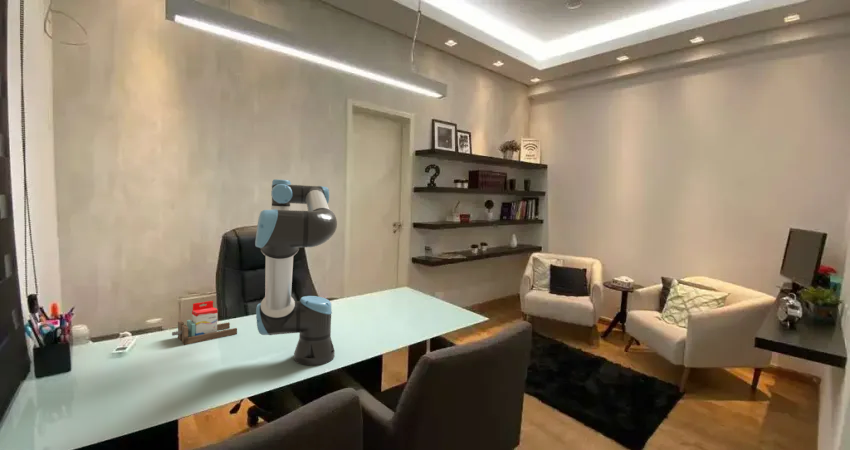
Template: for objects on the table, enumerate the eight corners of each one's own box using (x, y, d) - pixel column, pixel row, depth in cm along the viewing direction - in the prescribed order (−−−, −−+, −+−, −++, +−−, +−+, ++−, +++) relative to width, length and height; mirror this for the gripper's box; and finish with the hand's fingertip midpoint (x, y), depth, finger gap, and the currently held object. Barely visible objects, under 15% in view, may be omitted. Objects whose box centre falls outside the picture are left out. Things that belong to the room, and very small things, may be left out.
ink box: (195, 340, 158) (196, 306, 157) (191, 337, 161) (191, 303, 160) (217, 335, 165) (218, 302, 164) (212, 332, 168) (213, 299, 167)
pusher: (195, 340, 157) (195, 324, 157) (174, 345, 152) (174, 328, 152) (190, 335, 162) (190, 319, 162) (170, 339, 157) (170, 323, 157)
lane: (237, 334, 168) (237, 318, 167) (184, 345, 153) (184, 328, 153) (228, 327, 175) (228, 312, 174) (177, 337, 161) (178, 321, 160)
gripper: (303, 218, 157) (301, 269, 158) (276, 214, 174) (275, 260, 176) (285, 218, 151) (284, 271, 153) (259, 214, 169) (258, 261, 170)
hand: (279, 265), depth 164 cm, fingers open, 13 cm apart
